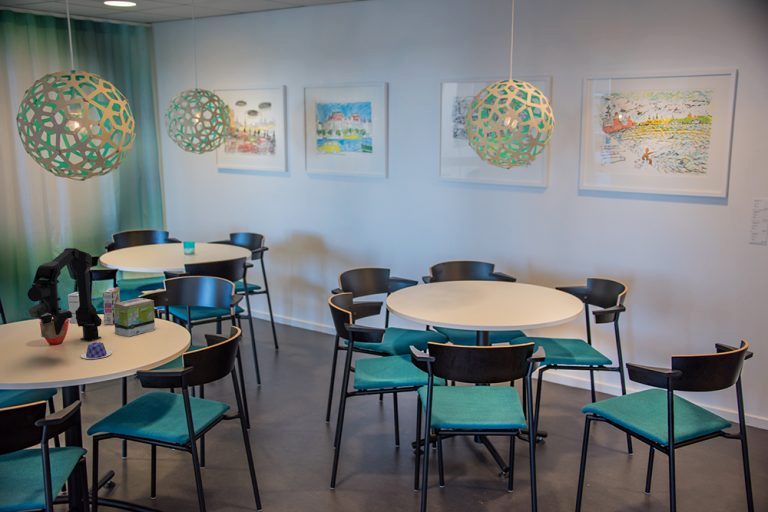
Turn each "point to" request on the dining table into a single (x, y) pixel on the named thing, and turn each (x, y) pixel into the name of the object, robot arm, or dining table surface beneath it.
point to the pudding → (96, 351)
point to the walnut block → (50, 331)
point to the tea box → (134, 317)
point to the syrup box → (73, 305)
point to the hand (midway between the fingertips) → (52, 333)
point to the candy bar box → (110, 304)
